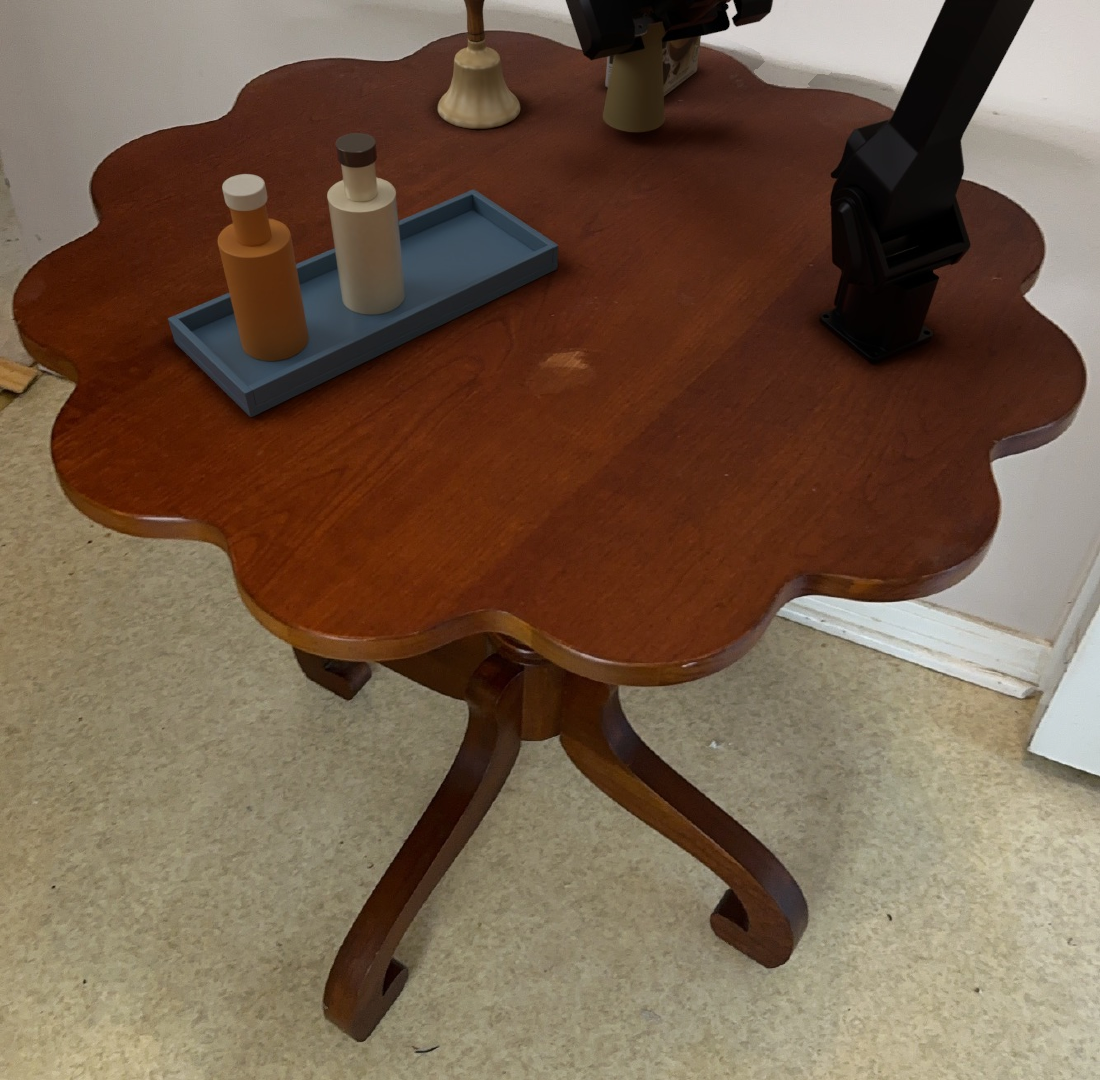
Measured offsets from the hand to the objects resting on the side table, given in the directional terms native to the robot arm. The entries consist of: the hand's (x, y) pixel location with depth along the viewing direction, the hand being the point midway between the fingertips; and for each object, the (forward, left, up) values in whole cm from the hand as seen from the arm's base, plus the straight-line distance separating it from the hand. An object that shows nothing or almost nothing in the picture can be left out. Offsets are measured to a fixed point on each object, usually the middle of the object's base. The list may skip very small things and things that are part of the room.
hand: (631, 43), depth 102 cm
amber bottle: (-16, +43, -7) cm, 46 cm away
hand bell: (+10, +11, -8) cm, 17 cm away
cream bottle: (-15, +34, -7) cm, 38 cm away
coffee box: (+7, -8, -8) cm, 13 cm away
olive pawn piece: (-1, 0, -7) cm, 7 cm away
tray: (-15, +34, -8) cm, 38 cm away
